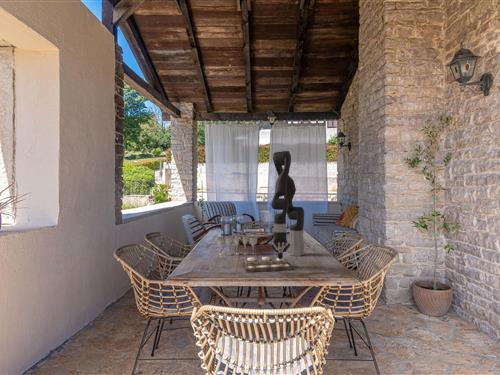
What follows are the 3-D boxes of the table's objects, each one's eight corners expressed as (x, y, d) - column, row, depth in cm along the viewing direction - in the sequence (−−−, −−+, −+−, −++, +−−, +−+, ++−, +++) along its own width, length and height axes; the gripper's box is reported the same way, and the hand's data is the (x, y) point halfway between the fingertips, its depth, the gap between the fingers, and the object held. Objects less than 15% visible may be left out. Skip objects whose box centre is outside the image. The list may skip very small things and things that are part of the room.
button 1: (254, 260, 230) (254, 257, 230) (256, 262, 225) (256, 259, 225) (246, 260, 229) (246, 257, 229) (248, 262, 224) (248, 259, 224)
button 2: (283, 260, 234) (283, 257, 233) (285, 262, 229) (285, 259, 228) (275, 261, 233) (275, 258, 232) (277, 263, 228) (277, 260, 228)
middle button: (269, 259, 232) (269, 256, 232) (271, 261, 227) (271, 258, 227) (261, 260, 231) (261, 256, 231) (263, 261, 226) (262, 258, 226)
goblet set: (216, 255, 260) (216, 236, 259) (217, 253, 265) (217, 235, 265) (257, 255, 261) (257, 236, 260) (256, 253, 266) (256, 234, 266)
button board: (285, 263, 238) (285, 256, 237) (293, 269, 222) (293, 262, 222) (241, 265, 232) (241, 259, 232) (246, 272, 217) (246, 265, 216)
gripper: (288, 229, 235) (288, 257, 235) (268, 230, 232) (268, 258, 233) (292, 231, 227) (292, 259, 228) (271, 232, 225) (271, 260, 225)
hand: (280, 258), depth 230 cm, fingers closed
